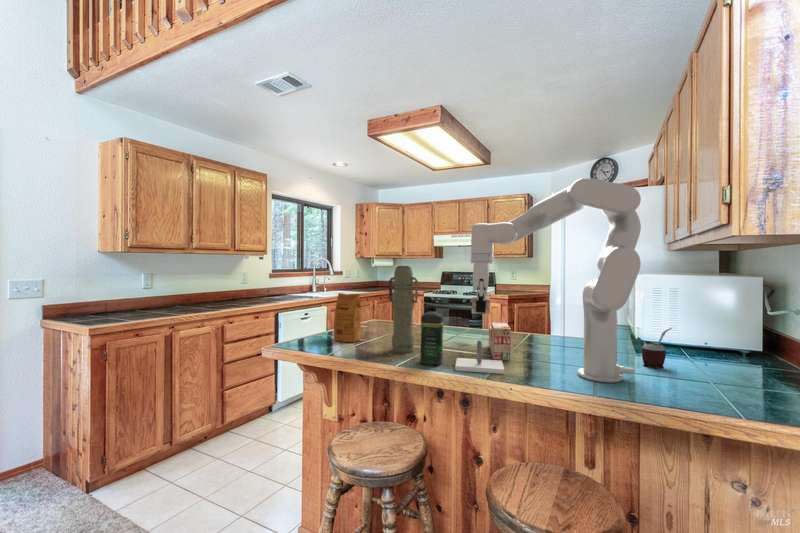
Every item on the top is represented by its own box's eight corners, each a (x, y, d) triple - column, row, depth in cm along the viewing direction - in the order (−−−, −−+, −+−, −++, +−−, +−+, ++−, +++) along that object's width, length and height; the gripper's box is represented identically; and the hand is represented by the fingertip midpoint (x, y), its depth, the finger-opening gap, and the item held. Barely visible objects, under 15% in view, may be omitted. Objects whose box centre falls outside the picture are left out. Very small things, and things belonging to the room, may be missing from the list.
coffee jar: (440, 366, 129) (441, 314, 129) (418, 365, 131) (419, 313, 131) (444, 359, 139) (444, 310, 138) (423, 358, 141) (423, 309, 140)
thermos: (389, 347, 158) (390, 265, 157) (417, 348, 156) (418, 266, 156) (386, 352, 149) (387, 265, 148) (416, 353, 148) (417, 266, 147)
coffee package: (340, 337, 178) (341, 291, 178) (364, 339, 174) (364, 292, 174) (329, 341, 169) (330, 293, 169) (354, 343, 164) (354, 294, 164)
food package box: (488, 347, 161) (489, 319, 161) (503, 347, 160) (504, 319, 160) (493, 360, 140) (493, 327, 139) (510, 360, 139) (511, 328, 138)
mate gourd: (638, 363, 136) (639, 322, 136) (664, 365, 133) (664, 324, 133) (645, 369, 129) (646, 326, 129) (672, 371, 126) (673, 327, 126)
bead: (489, 311, 131) (489, 297, 131) (489, 314, 125) (489, 299, 125) (471, 311, 132) (472, 297, 132) (471, 313, 126) (471, 298, 126)
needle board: (502, 364, 133) (502, 338, 132) (504, 373, 122) (504, 345, 122) (457, 361, 136) (457, 336, 136) (455, 370, 125) (455, 342, 125)
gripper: (471, 259, 138) (470, 307, 138) (470, 258, 121) (468, 313, 121) (492, 259, 136) (491, 308, 136) (493, 259, 119) (492, 315, 119)
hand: (480, 310), depth 129 cm, fingers closed on bead, 5 cm apart
